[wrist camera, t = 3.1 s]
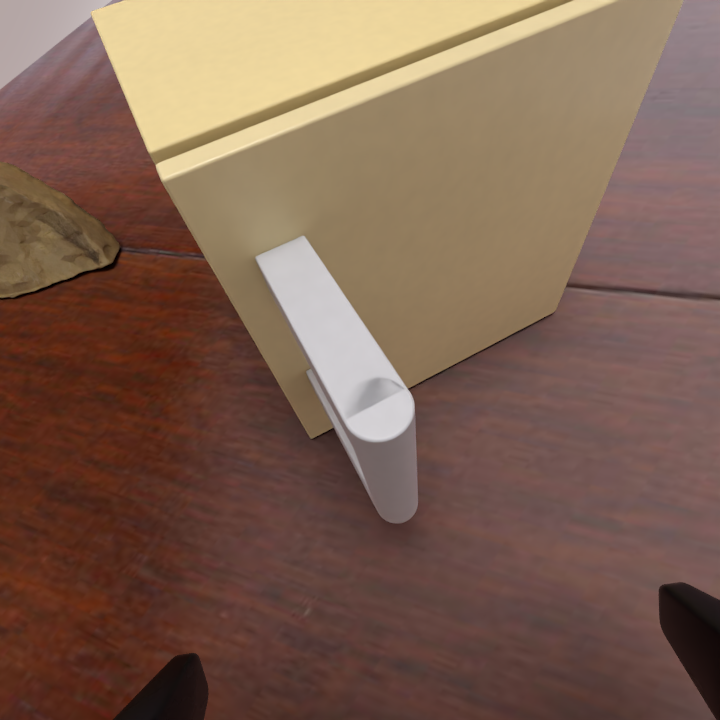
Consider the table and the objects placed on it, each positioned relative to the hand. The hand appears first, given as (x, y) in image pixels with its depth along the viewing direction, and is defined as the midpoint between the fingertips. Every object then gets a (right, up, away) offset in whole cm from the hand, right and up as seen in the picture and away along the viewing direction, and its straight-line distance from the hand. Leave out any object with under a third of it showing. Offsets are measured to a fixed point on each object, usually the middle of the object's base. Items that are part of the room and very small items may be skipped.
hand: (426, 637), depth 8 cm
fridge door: (+4, +3, +14) cm, 15 cm away
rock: (-25, +12, +25) cm, 37 cm away
